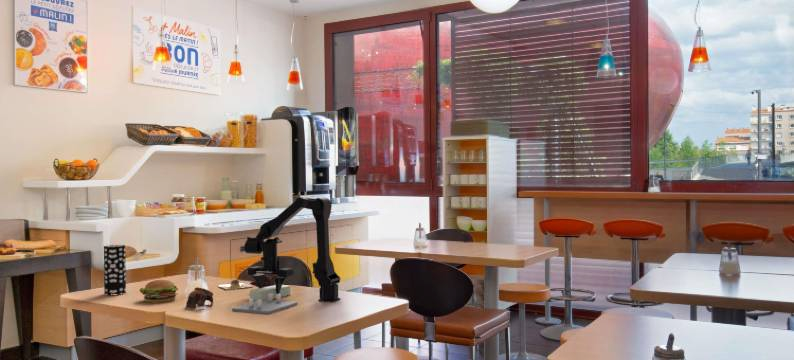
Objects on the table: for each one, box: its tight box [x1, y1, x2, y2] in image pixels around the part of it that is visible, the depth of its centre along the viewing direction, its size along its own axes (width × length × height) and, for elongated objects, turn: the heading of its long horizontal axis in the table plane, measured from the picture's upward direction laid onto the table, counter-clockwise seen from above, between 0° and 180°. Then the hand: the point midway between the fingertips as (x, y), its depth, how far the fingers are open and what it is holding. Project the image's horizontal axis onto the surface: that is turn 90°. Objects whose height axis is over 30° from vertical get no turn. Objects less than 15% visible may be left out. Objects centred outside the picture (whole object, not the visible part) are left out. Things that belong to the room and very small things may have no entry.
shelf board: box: [249, 284, 291, 301], centre depth 267 cm, size 6×16×4 cm, turn 145°
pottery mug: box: [185, 287, 214, 310], centre depth 249 cm, size 12×10×8 cm
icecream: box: [249, 274, 278, 289], centre depth 284 cm, size 7×7×15 cm
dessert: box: [217, 277, 254, 291], centre depth 293 cm, size 12×12×5 cm
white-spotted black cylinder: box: [103, 244, 127, 296], centre depth 279 cm, size 8×8×20 cm
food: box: [139, 279, 179, 303], centre depth 264 cm, size 14×14×8 cm
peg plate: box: [231, 294, 298, 315], centre depth 246 cm, size 16×18×4 cm
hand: (270, 293), depth 268 cm, fingers open, 7 cm apart
